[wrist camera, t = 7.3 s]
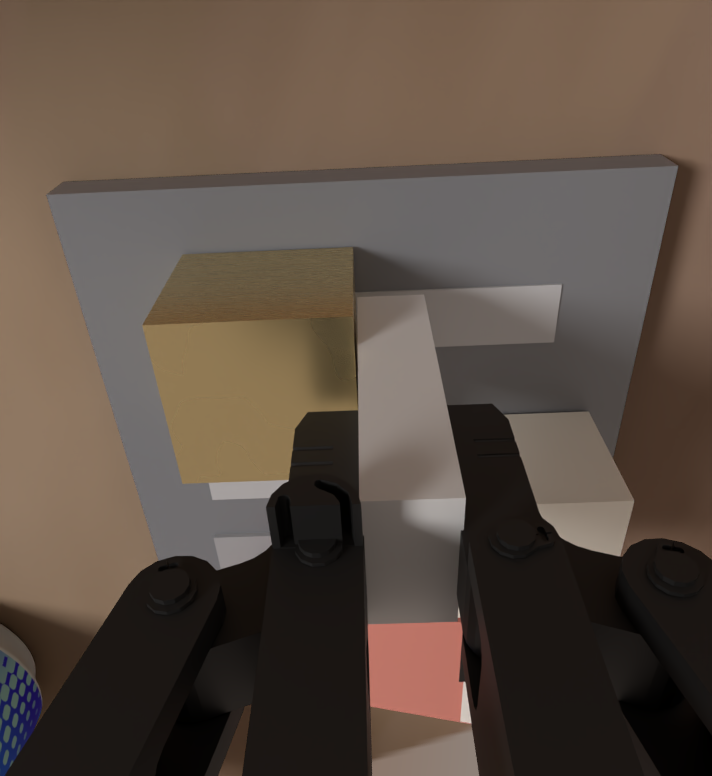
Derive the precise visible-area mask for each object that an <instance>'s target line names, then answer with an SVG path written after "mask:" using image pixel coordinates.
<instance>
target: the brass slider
mask: <svg viewBox="0 0 712 776" xmlns="http://www.w3.org/2000/svg"><path fill="white" fill-rule="evenodd" d="M142 327H143V331H144V335H145V339H146V343H147V346H148V350H149V354H150V358H151V362H152V366H153V370H154V374H155V378H156V382H157V386H158V390H159V394H160V398H161V402H162V405H163V409H164V413H165V417H166V421H167V425H168V429H169V433H170V437H171V441H172V445H173V449H174V453H175V457H176V460H177V464H178V468H179V472H180V476H181V480H182V484H191V483H219V482H247V481H275V480H289V473H290V467H291V457H292V451H293V441H294V433H295V428H296V427H297V425H298V424H299V423H300V422H301V420H302V419H303V418H304V416H305V415H306V414H307V412H321V411H349V410H358V338H357V317H356V297H355V277H354V257H353V247H343V248H321V249H298V250H275V251H252V252H229V253H206V254H183V255H182V256H181V258H180V260H179V261H178V263H177V265H176V267H175V268H174V270H173V272H172V274H171V275H170V277H169V279H168V281H167V282H166V284H165V286H164V288H163V289H162V291H161V293H160V295H159V296H158V298H157V300H156V302H155V303H154V305H153V307H152V309H151V311H150V312H149V314H148V316H147V318H146V319H145V321H144V323H143V325H142Z"/></svg>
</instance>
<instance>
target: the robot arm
mask: <svg viewBox="0 0 712 776" xmlns="http://www.w3.org/2000/svg"><path fill="white" fill-rule="evenodd" d="M357 319H358V410H349V411H321V412H307V414H306V415H305V416H304V418H303V419H302V420H301V422H300V423H299V424H298V425H297V427H296V428H295V433H294V441H293V451H292V457H291V467H290V473H289V481H288V482H286V483H284V484H282V485H281V486H280V487H279V488H278V489H277V490H276V491H275V492H273V493H272V494H271V496H270V499H269V501H268V503H267V506H266V512H267V518H268V524H269V530H270V536H271V542H272V545H271V546H270V547H269V548H268V549H267V550H266V551H264V552H263V553H261V554H259V555H258V556H256V557H255V558H253V559H250V560H248V561H245V562H243V563H240V564H236V565H233V566H230V567H226V568H223V569H220V570H216V569H215V568H214V567H213V566H212V565H211V564H210V563H209V562H208V561H206V560H203V559H200V558H197V557H194V556H173V557H170V558H166V559H163V560H160V561H157V562H155V563H153V564H152V565H150V566H148V567H147V568H145V569H144V570H142V571H141V572H140V573H139V574H138V575H137V576H136V577H135V578H134V579H133V580H132V581H131V583H130V584H129V585H128V586H127V588H126V589H125V591H124V592H123V594H122V596H121V597H120V599H119V600H118V602H117V603H116V605H115V606H114V608H113V609H112V611H111V612H110V614H109V616H108V617H107V619H106V620H105V622H104V623H103V625H102V626H101V628H100V629H99V631H98V632H97V634H96V636H95V637H94V639H93V640H92V642H91V643H90V645H89V646H88V648H87V649H86V651H85V652H84V654H83V656H82V657H81V659H80V660H79V662H78V663H77V665H76V666H75V668H74V669H73V671H72V672H71V674H70V676H69V677H68V679H67V680H66V682H65V683H64V685H63V686H62V688H61V689H60V691H59V692H58V694H57V696H56V697H55V699H54V700H53V702H52V703H51V705H50V706H49V708H48V709H47V711H46V712H45V714H44V716H43V717H42V719H41V720H40V722H39V723H38V725H37V726H36V728H35V729H34V731H33V732H32V734H31V736H30V737H29V739H28V740H27V742H26V743H25V745H24V746H23V748H22V749H21V751H20V752H19V754H18V756H17V757H16V759H15V760H14V762H13V763H12V765H11V766H10V768H9V769H8V771H7V772H6V774H5V776H218V774H219V771H220V769H221V766H222V764H223V761H224V759H225V756H226V753H227V751H228V748H229V746H230V743H231V741H232V738H233V736H234V733H235V731H236V728H237V725H238V723H239V720H240V718H241V715H242V713H243V710H244V706H247V705H250V704H252V706H251V714H250V721H249V729H248V736H247V744H246V751H245V759H244V766H243V774H242V776H372V755H371V714H370V673H369V645H368V624H398V623H432V622H458V607H459V613H460V619H461V625H462V631H463V633H462V646H461V659H460V672H459V682H465V683H466V690H467V697H468V703H469V710H470V717H471V723H472V730H473V736H474V743H475V750H476V756H477V763H478V770H479V776H712V560H711V559H710V558H709V557H707V556H706V555H705V554H704V553H702V552H701V551H699V550H697V549H695V548H693V547H691V546H689V545H686V544H684V543H682V542H678V541H673V540H668V539H663V538H659V539H644V540H642V541H640V542H638V543H635V544H633V545H631V546H630V547H629V549H628V550H627V551H626V553H625V554H624V555H623V557H620V556H615V555H611V554H606V553H601V552H597V551H592V550H589V549H585V548H582V547H579V546H576V545H574V544H572V543H570V542H568V541H566V540H564V539H562V538H561V537H560V536H559V534H558V533H557V531H556V530H555V528H554V526H552V525H551V524H550V523H549V522H547V521H546V520H545V519H543V518H542V516H541V515H540V513H539V510H538V507H537V503H536V500H535V497H534V494H533V491H532V488H531V485H530V482H529V479H528V476H527V473H526V470H525V467H524V464H523V461H522V458H521V457H520V452H519V449H518V446H517V443H516V441H515V437H514V434H513V431H512V428H511V425H510V422H509V419H508V418H507V417H506V416H505V415H504V414H503V413H502V412H500V411H499V410H498V409H497V408H496V407H495V406H494V405H493V404H465V405H447V404H446V399H445V394H444V389H443V384H442V379H441V374H440V370H439V365H438V360H437V355H436V350H435V345H434V340H433V336H432V331H431V326H430V321H429V316H428V311H427V306H426V302H425V297H424V295H399V296H374V297H357Z"/></svg>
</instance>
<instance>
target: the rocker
mask: <svg viewBox="0 0 712 776" xmlns="http://www.w3.org/2000/svg"><path fill="white" fill-rule="evenodd" d="M462 633H463V631H462V625H461V619H460V618H458V622H432V623H398V624H368V645H369V673H370V707H376V708H382V709H388V710H393V711H399V712H405V713H410V714H416V715H422V716H428V717H433V718H439V719H445V720H450V721H456V722H462V723H468V724H472V723H471V717H470V710H469V703H468V697H467V690H466V683H465V682H459V672H460V659H461V646H462Z"/></svg>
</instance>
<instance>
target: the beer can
mask: <svg viewBox="0 0 712 776" xmlns="http://www.w3.org/2000/svg"><path fill="white" fill-rule="evenodd" d="M35 674H36V668H35V663H34V660H33V657H32V655H31V653H30V651H29V650H28V648H27V647H26V645H25V644H24V643H23V642H22V641H21V640H20V639H19V638H18V637H17V636H16V635H15V634H14V633H13V632H12V631H10V630H9V629H7V628H6V627H5V626H3V625H2V624H0V776H5V774H6V772H7V771H8V769H9V768H10V766H11V765H12V763H13V762H14V760H15V759H16V757H17V756H18V754H19V752H20V751H21V749H22V748H23V746H24V745H25V743H26V742H27V740H28V739H29V737H30V736H31V734H32V732H33V731H34V728H35V726H36V723H37V721H38V719H39V716H40V713H41V709H42V695H41V690H40V687H39V685H38V683H37V681H36V679H35Z"/></svg>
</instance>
